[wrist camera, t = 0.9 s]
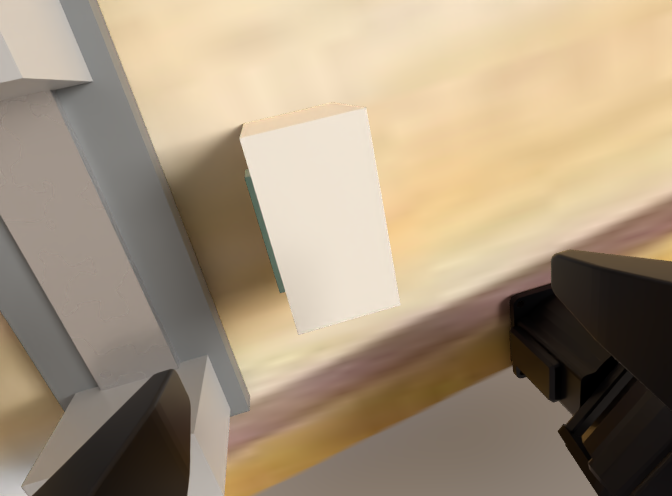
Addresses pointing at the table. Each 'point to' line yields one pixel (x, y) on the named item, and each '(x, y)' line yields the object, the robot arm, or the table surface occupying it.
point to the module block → (321, 212)
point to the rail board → (99, 243)
